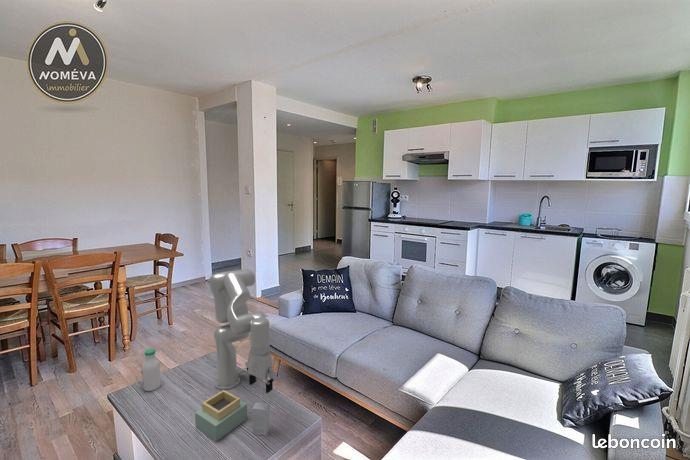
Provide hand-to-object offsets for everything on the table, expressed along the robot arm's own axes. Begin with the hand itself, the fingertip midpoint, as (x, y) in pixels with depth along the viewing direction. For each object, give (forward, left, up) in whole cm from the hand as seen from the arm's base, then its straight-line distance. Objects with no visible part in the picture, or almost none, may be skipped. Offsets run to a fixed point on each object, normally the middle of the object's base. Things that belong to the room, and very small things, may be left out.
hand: (260, 387), depth 135 cm
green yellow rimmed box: (+6, -18, -21) cm, 28 cm away
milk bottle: (+10, -68, -21) cm, 72 cm away
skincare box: (0, 0, -21) cm, 21 cm away
